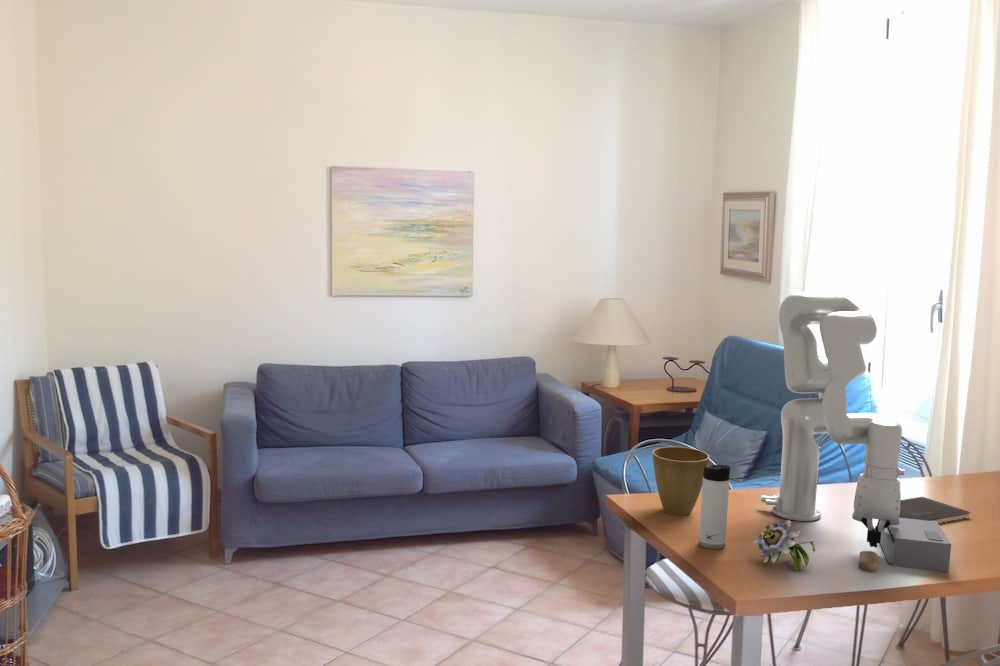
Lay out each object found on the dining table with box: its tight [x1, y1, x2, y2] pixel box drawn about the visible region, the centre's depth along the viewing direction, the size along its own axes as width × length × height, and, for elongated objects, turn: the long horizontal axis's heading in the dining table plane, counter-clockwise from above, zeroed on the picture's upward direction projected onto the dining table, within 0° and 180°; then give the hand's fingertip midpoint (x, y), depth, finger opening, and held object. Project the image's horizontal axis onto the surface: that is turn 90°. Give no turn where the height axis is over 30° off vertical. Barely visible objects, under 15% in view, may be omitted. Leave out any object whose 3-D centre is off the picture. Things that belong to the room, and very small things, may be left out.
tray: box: [879, 528, 895, 564], centre depth 230 cm, size 12×17×5 cm
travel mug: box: [698, 464, 731, 550], centre depth 232 cm, size 6×7×20 cm
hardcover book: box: [899, 496, 972, 524], centre depth 263 cm, size 16×23×2 cm
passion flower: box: [753, 519, 816, 572], centre depth 223 cm, size 11×11×12 cm
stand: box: [857, 550, 879, 573], centre depth 221 cm, size 4×4×4 cm
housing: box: [887, 518, 952, 573], centre depth 230 cm, size 12×17×7 cm
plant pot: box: [652, 446, 710, 516], centre depth 258 cm, size 15×15×16 cm
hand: (873, 545), depth 233 cm, fingers closed
